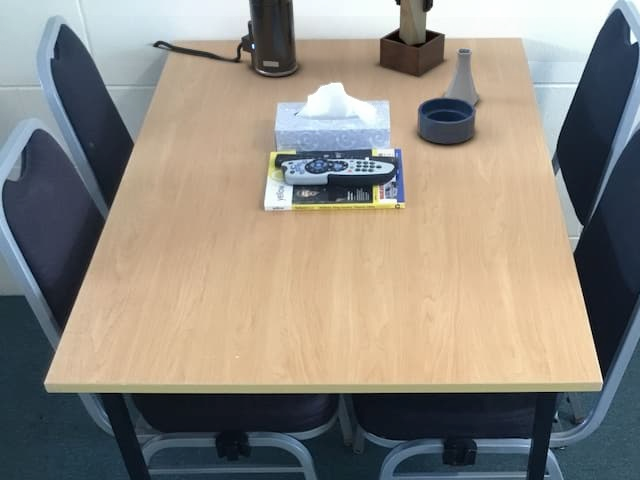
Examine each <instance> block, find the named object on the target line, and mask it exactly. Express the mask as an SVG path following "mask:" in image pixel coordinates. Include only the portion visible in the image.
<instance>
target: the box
mask: <svg viewBox="0 0 640 480" xmlns="http://www.w3.org/2000/svg"><path fill="white" fill-rule="evenodd" d="M427 13H428V12H423V0H400V6H399V28H400V30H399V37H400V38H401V39H402V40H403V41H404V42H405V43H406V44H407V45H413V44H419V43H425V35H426V29H427V17H428V16H427Z"/></svg>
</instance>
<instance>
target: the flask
mask: <svg viewBox="0 0 640 480" xmlns="http://www.w3.org/2000/svg"><path fill="white" fill-rule="evenodd" d="M455 53H456V55H457V57H456V58H457V59H456V64H455V69H454V72H453V74H452V77H451V80H450V82H449V84H448V87H447V89H446V91H445V94H444V96H443V97H448V98H458V99H461V100H464V101H467V102H469V103H470V104H472V105H473V106H474V107H475V104H476V103H477V102H478V101H479V97H478V94H477V90H476V86H475V83H474V78H473V73H472V68H471V66H472V65H471V56H472V54H473V50H472V49H471V48H470V47H459V48H458V49H456V52H455Z"/></svg>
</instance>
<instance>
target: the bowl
mask: <svg viewBox="0 0 640 480" xmlns="http://www.w3.org/2000/svg"><path fill="white" fill-rule="evenodd" d="M476 115H477V110H476V107H475V105H474V106H473V105H472V104H470V103H469V102H467V101H464V100H461V99H458V98H448V97H444V96H443V97H434V98H431V99H428V100H425V101H423V102H422V103H420V104H419V106H418V108H417V122H416V124H417V125H416V126H417V127H416V130H417V132H418V135H419V136H420V137H422V138H423V139H424V140H427V141H430V142H433V143H436V144H444V145H445V144H446V145H449V144H459V143H461V142H464V141H468V140H469V139H470V138H471V137H473V135H474V133H475V129H476V128H475V127H476V117H477V116H476Z"/></svg>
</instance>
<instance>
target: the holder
mask: <svg viewBox="0 0 640 480" xmlns="http://www.w3.org/2000/svg"><path fill="white" fill-rule="evenodd" d="M399 30H400V27H398V28H396V29H394V30H393V31H391V32H389V33H388V34H386V35H384V36H382V37H380V38H379V66H382V67H385V68H389V69H392V70H396V71H398V72H401V73H405V74H409V75H412V76H416V77H420V76H421V75H424V73H426V72H428V71H430V70H431V69H432V68H434V67H435V66H437V65H439V64H440V63H443V61H444V59H445V44H446V43H445V42H446V40H445V39H446V34H445V33H442V32H439V31H435V30H430V29H427V28H426V35H425V43H419V44H413V45H407V44H406V43H405V42H404V41H403V40H402V39H401V38H400V37H399Z"/></svg>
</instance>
